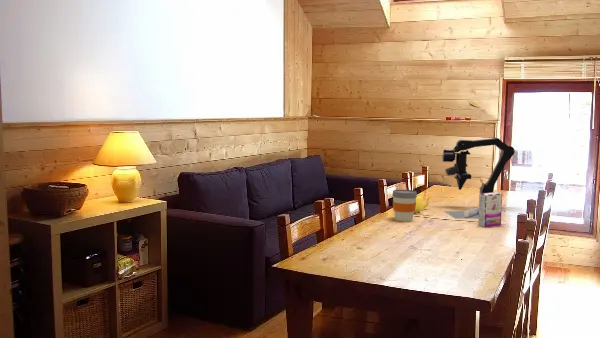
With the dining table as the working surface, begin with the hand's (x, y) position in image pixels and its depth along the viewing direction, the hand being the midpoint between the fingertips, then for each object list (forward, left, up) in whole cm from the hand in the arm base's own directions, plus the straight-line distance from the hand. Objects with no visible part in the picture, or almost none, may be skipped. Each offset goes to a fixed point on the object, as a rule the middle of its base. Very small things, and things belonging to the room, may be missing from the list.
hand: (459, 189), depth 327 cm
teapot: (+26, +3, -12) cm, 29 cm away
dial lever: (0, +21, -10) cm, 23 cm away
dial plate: (+2, +20, -12) cm, 23 cm away
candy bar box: (-2, +40, -12) cm, 42 cm away
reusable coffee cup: (+38, +26, -12) cm, 48 cm away
